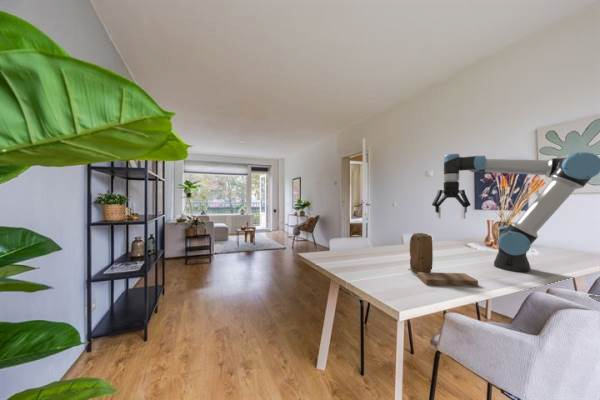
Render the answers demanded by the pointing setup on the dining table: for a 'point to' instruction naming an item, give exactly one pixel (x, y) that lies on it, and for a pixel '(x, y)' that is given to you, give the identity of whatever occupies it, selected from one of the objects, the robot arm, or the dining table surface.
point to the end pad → (413, 272)
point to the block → (421, 252)
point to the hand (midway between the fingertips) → (450, 218)
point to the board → (447, 279)
